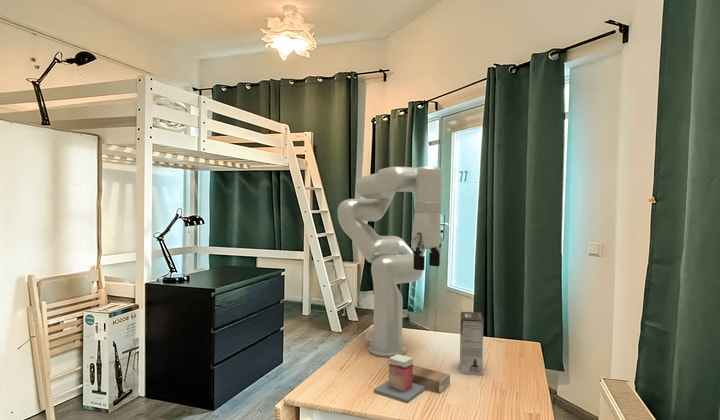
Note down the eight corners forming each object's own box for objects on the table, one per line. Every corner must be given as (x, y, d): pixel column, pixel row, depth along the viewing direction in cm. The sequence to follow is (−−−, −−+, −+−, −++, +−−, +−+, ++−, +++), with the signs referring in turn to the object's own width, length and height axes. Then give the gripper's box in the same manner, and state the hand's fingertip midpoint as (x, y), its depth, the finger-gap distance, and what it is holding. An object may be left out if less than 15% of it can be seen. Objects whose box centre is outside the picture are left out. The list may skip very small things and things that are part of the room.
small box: (387, 387, 114) (388, 357, 114) (396, 382, 117) (397, 353, 117) (404, 393, 111) (404, 362, 111) (412, 387, 114) (413, 357, 114)
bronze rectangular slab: (399, 381, 120) (400, 370, 120) (410, 374, 125) (410, 364, 125) (440, 393, 113) (440, 381, 113) (449, 385, 118) (450, 374, 118)
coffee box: (459, 362, 135) (460, 310, 135) (480, 364, 134) (481, 312, 133) (460, 373, 126) (461, 318, 126) (483, 375, 125) (484, 320, 124)
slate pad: (373, 392, 113) (373, 389, 113) (393, 379, 121) (393, 377, 121) (407, 403, 107) (407, 399, 107) (426, 389, 115) (426, 386, 115)
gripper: (429, 208, 136) (428, 263, 136) (401, 209, 122) (400, 270, 122) (452, 209, 132) (451, 265, 132) (425, 209, 118) (424, 272, 118)
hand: (426, 267), depth 127 cm, fingers open, 9 cm apart
